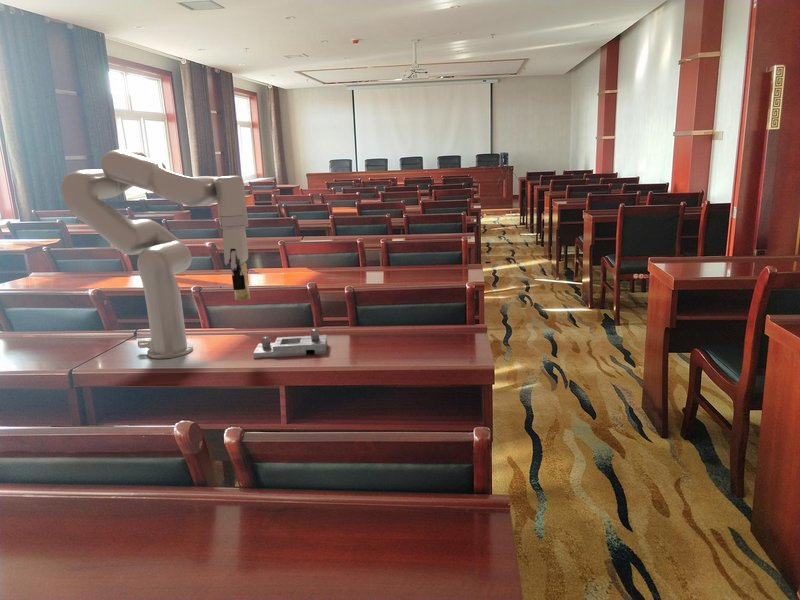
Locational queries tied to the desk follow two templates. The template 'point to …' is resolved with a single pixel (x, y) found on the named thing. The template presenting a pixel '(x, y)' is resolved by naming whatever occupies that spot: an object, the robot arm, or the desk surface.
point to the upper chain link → (302, 343)
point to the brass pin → (245, 293)
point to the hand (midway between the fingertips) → (241, 287)
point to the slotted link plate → (267, 350)
